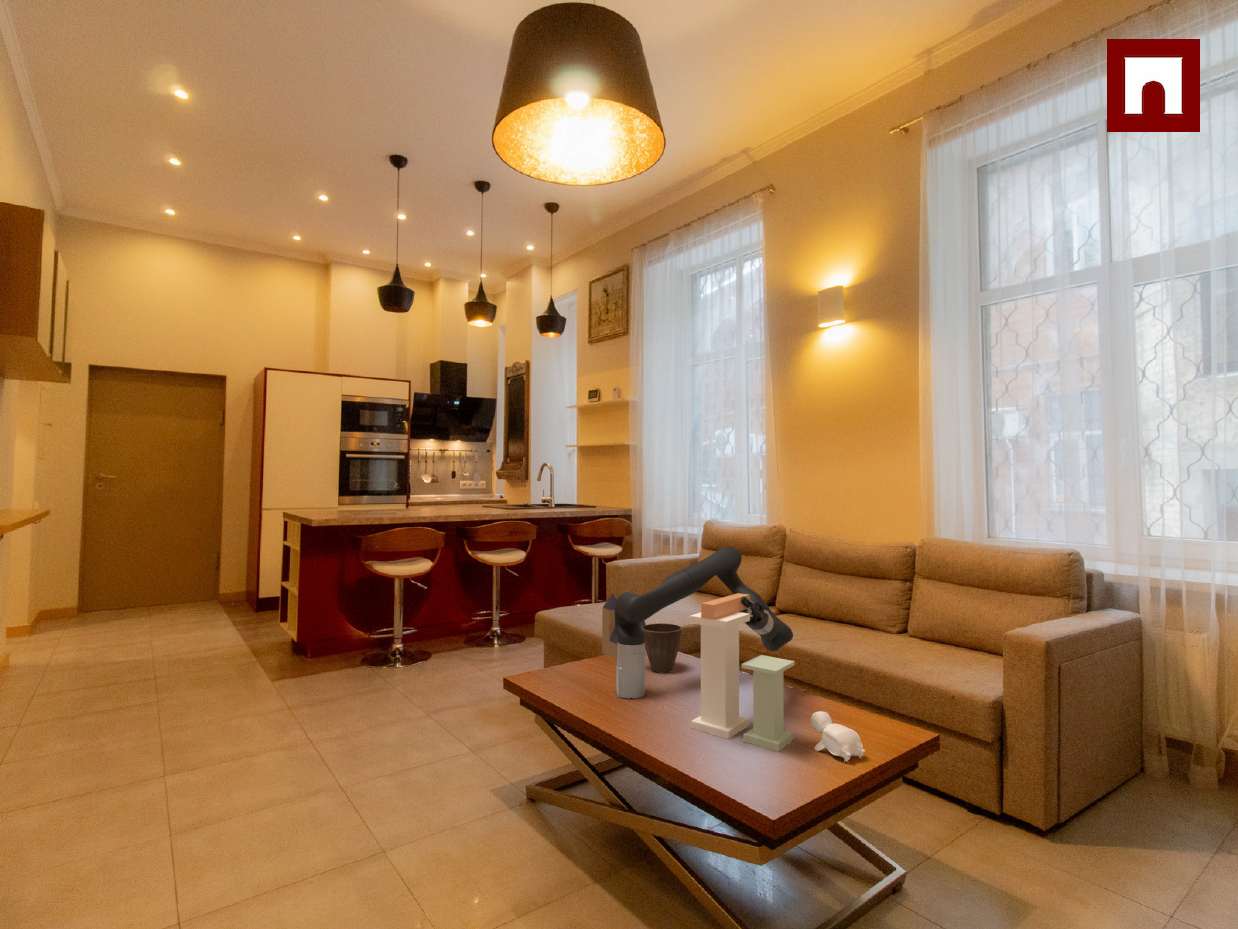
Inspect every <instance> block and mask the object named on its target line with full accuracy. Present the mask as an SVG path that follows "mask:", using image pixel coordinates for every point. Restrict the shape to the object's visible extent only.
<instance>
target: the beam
mask: <svg viewBox="0 0 1238 929" xmlns="http://www.w3.org/2000/svg"><path fill="white" fill-rule="evenodd" d="M729 595H730V596H728V595H727V596H724V597H720V598H716V599H715V598H714V599H711V600H709V601H704V602H701V603H700V607H701V608H700V612H701V618H707V619H713V620H714V619H717V618H720V617H723V616H726V615H729V614H733V613H736V612H739V611H742V610H745V609H747V607H745V606H744V605H743V604H742V603H741V599H742V596H745V597H746V598H747V599H748V600H750V595H748V594H740V593H737V594H729Z"/></svg>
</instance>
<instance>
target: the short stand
mask: <svg viewBox="0 0 1238 929" xmlns="http://www.w3.org/2000/svg"><path fill="white" fill-rule="evenodd" d="M795 664H796V662H795V660H789V659H786V658H785V659H784V658H779V657H775V656H774V657H773V656H769V655H765V654H764V655H763V654H760V655H758V656H756V657H753V658H752V659H750V660H747V661H744V662H743V663H741V667H740V668H741V669H746V670H750V671H753V675H752V676H753V679H752V680H753V683H752V684H753V685H752V686H753V689H752V692H753V698H752V699H753V700H752V701H753V703H752V704H753V705H752V706H753V707H752V710H753V715H752V718H753V719H752V720H753V723H752V724H753V726H752V728H750V729H749V730H748V731H746V732H744V733H743V740H742V741H743V742H744V743H747V744H749V743H750V744H749V745H753V746H757V747H760V748H763V749H766V750H770V751H774V752H777V753H779V752H780V751H781V750H783V749H784V748H786V747H787V744H788V745H789V744H790V743H792V742H793V741H794V740H795V739H794V738H795V737H794V736H795V734H794V732H793V731H790V730H785V729H784V728H785V727H784V725H785V722H784V721H785V720H784V716H785V715H784V711H785V708H784V701H785V700H784V672H785V671H786V670H788V669H790V668H792V667H793V666H796V665H795ZM793 739H794V740H793ZM792 740H793V741H792ZM791 741H792V742H791Z"/></svg>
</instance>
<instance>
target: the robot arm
mask: <svg viewBox="0 0 1238 929" xmlns="http://www.w3.org/2000/svg"><path fill="white" fill-rule="evenodd" d="M741 564H742V553H741V552H740V550H739V549H737V548H735V547H732V546H724V547H721V548H720V549H718V550H716V551H715V552H713V553H712V554H710V555H709V556H707V557H706V558H703V559H702V560H699V561H697V562H695V563H693V564H690V565H688V566H686V567H684V568H681V569H679V570H677V571H676V572H673V573H671V574H670V575H668V576H667V577H665V579H664V580H663V581H662V582H661V583H660V585H659V586H658V587H656V588H654V589H652V590H650V591H647V592H645V593H642V594H641V593H640V594H637V593H633V592H630V591H627V592H623V593H621V594H619V596H618V597H617V598H616V599H617V600H616V603H615V631H616V635H617V660H616V662H617V663H616V676H615V677H616V678H615V679H616V680H615V682H616V683H615V684H616V685H615V688H616V690H615V693H616V695H617V698H624V699H630V698H633V699H639V698H643V697H644V696H645V695H646V651H645V634H644V632H643V631H642V630H641V628H640V625H639V623H640V622H642V621H644V620H645V621H646V620H647V619H650V618H651V617H652V616H653V615H655V614H656V613H658V612H659V611H662V610H663V609H664V608H666V607H668V606H670V605H671V606H672V605H673V604H675V603H677V602H679V601H681V600H683V599H686V598H687V597H689V596H692V595H694V594H695V593H696V592H698V591H699V590H701V589H702V588H703V587H704V586H705V585H706V584H707V583H708V582H709V581H711V580H712V579H713V578H714V577H717V578H718V579H719V580H720V581H721V582H722V583H723V584H724V585H725V587H726V588H727V589H728V590H729V591H730V592H731V593H732V595H734V594H737V593H740V594H748V595H750V600H748V599H747V598H746V597H745V596H742V599H741V603H742V604H743V605H744V606H745V607H747V609H745V610H742V611H739V612H741V613H748V614H750V621H748V622H745V623H744V624H745V625H746V626H747V627H749V629H751V630H752V631H753V632H755V633H756V634H757V635H759V636H760V640H761V643H762V644H763V646H764V647H765V648H766V650H768V651H769V652H776V651H778V650H779V649H781V648H783V647H784V646H785V645H786V644H788V643H789V642H791V641H792V640H793V638H794V633H793V631H792V630H793V629H791V627H790V626H789V625H788V624H786V623H785V622H784V621H783V620H781V619H780V618H779V617H777V615H776V614H775V613H774V612H773V610H771V608H770V607H769V606H768V604H767V603H766V601H765V600H764V599H763V597H762V596H761V595H760V594H759V593H757V592H756V591H755V590H753V589H751V588H750V587H748V586H747V585H746V584H745V583H744V582H743V581H742V580H741V578H740V576H739V575H738V570H739V568H740V566H741ZM730 595H731V594H728V595H727V596H730Z"/></svg>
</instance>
